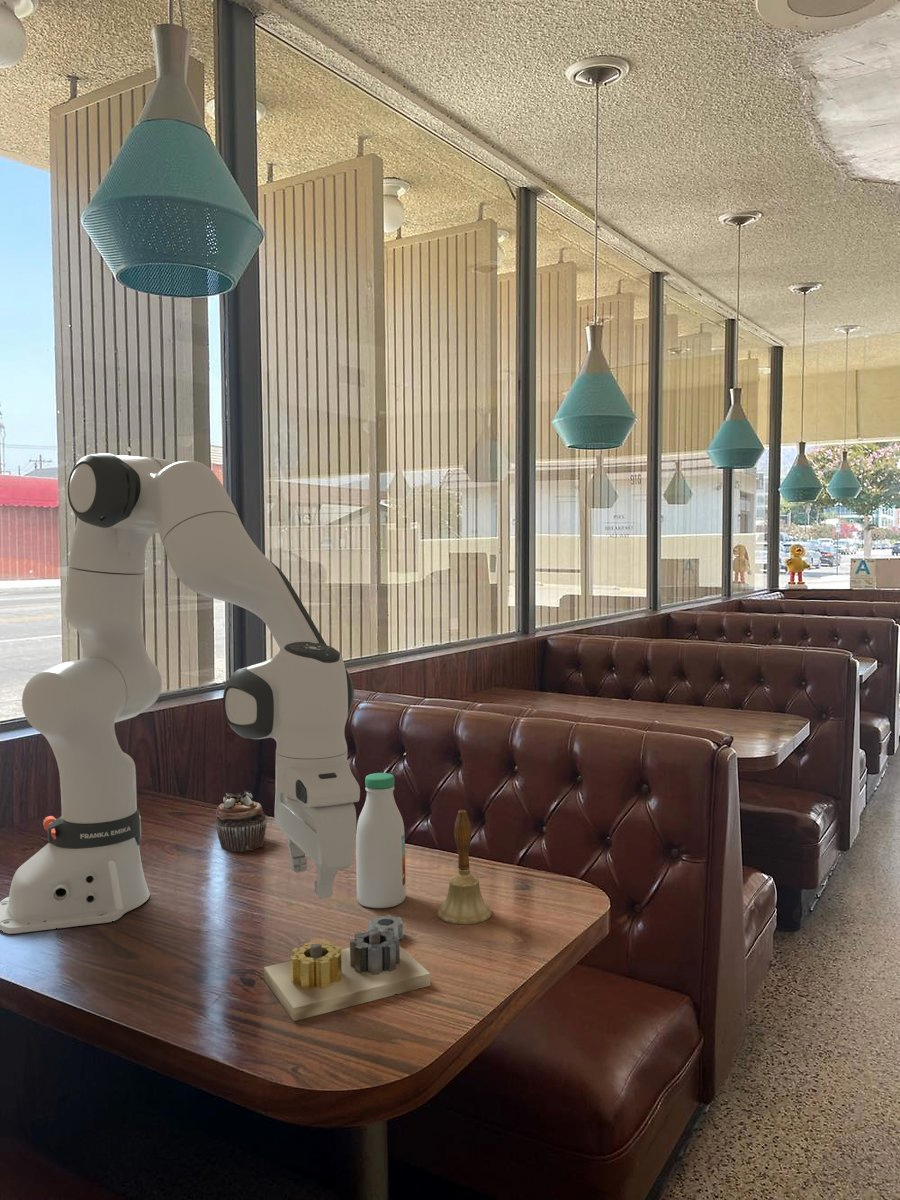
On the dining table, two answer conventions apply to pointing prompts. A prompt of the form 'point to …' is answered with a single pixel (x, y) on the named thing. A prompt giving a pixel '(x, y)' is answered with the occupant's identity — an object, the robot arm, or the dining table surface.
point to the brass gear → (315, 966)
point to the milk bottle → (380, 846)
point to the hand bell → (464, 883)
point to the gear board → (344, 984)
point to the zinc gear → (388, 925)
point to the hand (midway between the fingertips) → (310, 882)
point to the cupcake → (240, 822)
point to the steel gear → (374, 952)
